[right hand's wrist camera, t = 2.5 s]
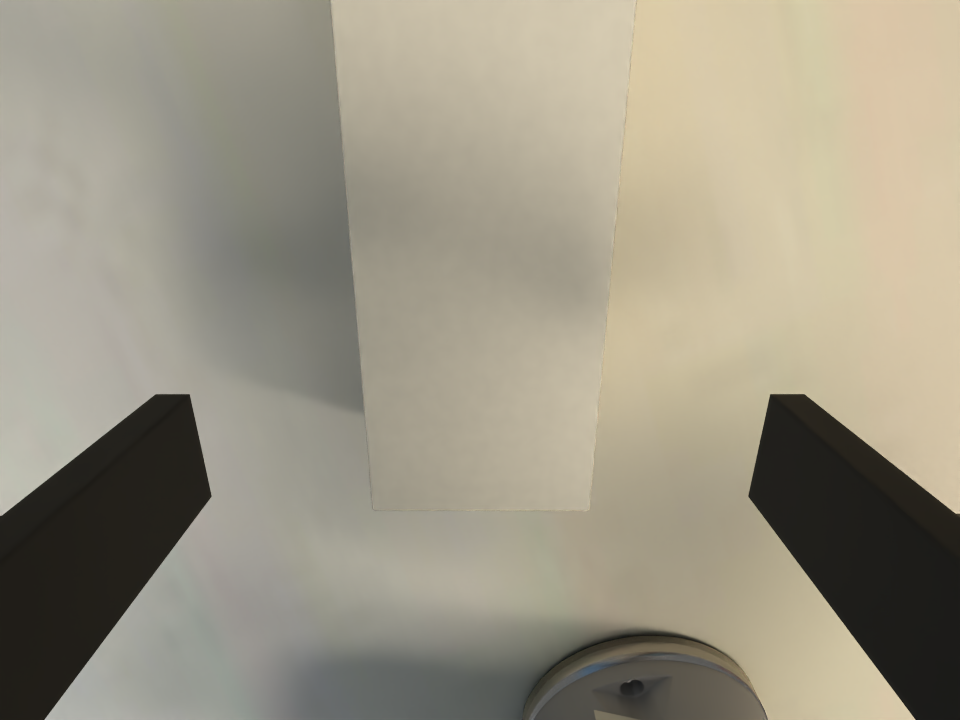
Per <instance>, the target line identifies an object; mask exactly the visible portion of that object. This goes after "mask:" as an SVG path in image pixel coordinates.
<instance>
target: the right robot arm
mask: <svg viewBox="0 0 960 720" xmlns="http://www.w3.org/2000/svg"><path fill="white" fill-rule="evenodd" d="M211 497H212V496H211V491H210V486H209V482H208V477H207V473H206V468H205V463H204V459H203V454H202V449H201V445H200V440H199V435H198V431H197V426H196V422H195V417H194V412H193V408H192V403H191V398H190V394H156V395H154V396H153V397H152V398H150V399H149V400H148V401H147V402H145V403H144V404H143V405H142V406H140V407H139V408H138V409H137V410H135V411H134V412H133V413H131V414H130V415H129V416H128V417H126V418H125V419H124V420H123V421H121V422H120V423H119V424H118V425H116V426H115V427H114V428H112V429H111V430H110V431H109V432H107V433H106V434H105V435H104V436H102V437H101V438H100V439H99V440H97V441H96V442H95V443H93V444H92V445H91V446H90V447H88V448H87V449H86V450H85V451H83V452H82V453H81V454H80V455H78V456H77V457H76V458H74V459H73V460H72V461H71V462H69V463H68V464H67V465H66V466H64V467H63V468H62V469H61V470H59V471H58V472H57V473H55V474H54V475H53V476H52V477H50V478H49V479H48V480H47V481H45V482H44V483H43V484H42V485H40V486H39V487H38V488H36V489H35V490H34V491H33V492H31V493H30V494H29V495H28V496H26V497H25V498H24V499H23V500H21V501H20V502H19V503H17V504H16V505H15V506H14V507H12V508H11V509H10V510H9V511H7V512H6V513H5V514H4V515H2V516H0V720H44V719H45V718H46V717H47V715H48V714H49V713H50V711H51V710H52V709H53V707H54V706H55V705H56V703H57V702H58V701H59V699H60V698H61V697H62V695H63V694H64V693H65V691H66V690H67V689H68V687H69V686H70V685H71V683H72V682H73V681H74V679H75V678H76V677H77V675H78V674H79V673H80V671H81V670H82V669H83V667H84V666H85V665H86V663H87V662H88V661H89V659H90V658H91V657H92V655H93V654H94V653H95V651H96V650H97V649H98V647H99V646H100V645H101V643H102V642H103V641H104V639H105V638H106V637H107V635H108V634H109V633H110V631H111V630H112V629H113V627H114V626H115V625H116V623H117V622H118V621H119V619H120V618H121V617H122V615H123V614H124V613H125V611H126V610H127V609H128V607H129V606H130V605H131V603H132V602H133V601H134V599H135V598H136V597H137V595H138V594H139V593H140V591H141V590H142V589H143V587H144V586H145V585H146V583H147V582H148V581H149V579H150V578H151V577H152V575H153V574H154V573H155V571H156V570H157V569H158V567H159V566H160V565H161V563H162V562H163V561H164V559H165V558H166V557H167V555H168V554H169V553H170V551H171V550H172V549H173V547H174V546H175V545H176V543H177V542H178V541H179V539H180V538H181V537H182V535H183V534H184V533H185V531H186V530H187V529H188V527H189V526H190V525H191V523H192V522H193V521H194V519H195V518H196V517H197V515H198V514H199V513H200V511H201V510H202V509H203V507H204V506H205V505H206V503H207V502H208V501H209V499H210V498H211ZM748 497H749V498H750V499H751V501H752V502H753V503H754V505H755V506H756V507H757V509H758V510H759V511H760V513H761V514H762V515H763V517H764V518H765V519H766V521H767V522H768V523H769V525H770V526H771V527H772V529H773V530H774V531H775V533H776V534H777V535H778V537H779V538H780V539H781V541H782V542H783V543H784V545H785V546H786V547H787V549H788V550H789V551H790V553H791V554H792V555H793V557H794V558H795V559H796V561H797V562H798V563H799V565H800V566H801V567H802V569H803V570H804V571H805V573H806V574H807V575H808V577H809V578H810V579H811V581H812V582H813V583H814V585H815V586H816V587H817V589H818V590H819V591H820V593H821V594H822V595H823V597H824V598H825V599H826V601H827V602H828V603H829V605H830V606H831V607H832V609H833V610H834V611H835V613H836V614H837V615H838V617H839V618H840V619H841V621H842V622H843V623H844V625H845V626H846V627H847V629H848V630H849V631H850V633H851V634H852V635H853V637H854V638H855V639H856V641H857V642H858V643H859V645H860V646H861V647H862V649H863V650H864V651H865V653H866V654H867V655H868V657H869V658H870V659H871V661H872V662H873V663H874V665H875V666H876V667H877V669H878V670H879V671H880V673H881V674H882V675H883V677H884V678H885V679H886V681H887V682H888V683H889V685H890V686H891V687H892V689H893V690H894V691H895V693H896V694H897V695H898V697H899V698H900V699H901V701H902V702H903V703H904V705H905V706H906V707H907V709H908V710H909V711H910V713H911V714H912V715H913V717H914V718H915V719H916V720H960V514H955V513H954V512H953V511H951V510H950V509H949V508H948V507H946V506H945V505H944V504H943V503H941V502H940V501H939V500H937V499H936V498H935V497H934V496H932V495H931V494H930V493H929V492H927V491H926V490H925V489H924V488H922V487H921V486H920V485H918V484H917V483H916V482H915V481H913V480H912V479H911V478H910V477H908V476H907V475H906V474H905V473H903V472H902V471H901V470H899V469H898V468H897V467H896V466H894V465H893V464H892V463H891V462H889V461H888V460H887V459H886V458H884V457H883V456H882V455H880V454H879V453H878V452H877V451H875V450H874V449H873V448H872V447H870V446H869V445H868V444H867V443H865V442H864V441H863V440H861V439H860V438H859V437H858V436H856V435H855V434H854V433H853V432H851V431H850V430H849V429H848V428H846V427H845V426H844V425H842V424H841V423H840V422H839V421H837V420H836V419H835V418H834V417H832V416H831V415H830V414H829V413H827V412H826V411H825V410H823V409H822V408H821V407H820V406H818V405H817V404H816V403H815V402H813V401H812V400H811V399H810V398H808V397H807V396H806V395H804V394H770V398H769V403H768V408H767V412H766V417H765V422H764V426H763V431H762V435H761V440H760V445H759V449H758V454H757V459H756V463H755V468H754V473H753V477H752V482H751V486H750V491H749V496H748ZM522 720H768V719H767V716H766V713H765V710H764V708H763V706H762V704H761V702H760V700H759V698H758V696H757V694H756V692H755V690H754V688H753V686H752V684H751V682H750V680H749V678H748V677H747V676H746V674H745V673H744V671H743V670H742V669H741V668H740V667H739V666H738V665H737V664H736V663H735V662H733V661H732V660H731V659H730V658H728V657H727V656H725V655H724V654H722V653H721V652H719V651H717V650H715V649H713V648H711V647H708V646H706V645H704V644H701V643H698V642H694V641H691V640H686V639H682V638H676V637H668V636H636V637H627V638H621V639H616V640H612V641H607V642H604V643H601V644H597V645H594V646H592V647H589V648H587V649H584V650H582V651H580V652H578V653H576V654H574V655H572V656H570V657H569V658H567V659H565V660H564V661H562V662H561V663H559V664H558V665H556V666H555V667H554V668H553V669H551V670H550V671H549V672H548V673H547V674H546V675H545V676H544V677H543V678H542V679H541V680H540V681H539V682H538V684H537V685H536V686H535V688H534V689H533V691H532V692H531V694H530V696H529V698H528V700H527V702H526V705H525V708H524V711H523V717H522Z"/></svg>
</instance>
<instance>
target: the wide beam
mask: <svg viewBox="0 0 960 720" xmlns="http://www.w3.org/2000/svg"><path fill="white" fill-rule="evenodd" d="M636 2H637V0H330V7H331V19H332V31H333V43H334V55H335V67H336V79H337V91H338V103H339V115H340V127H341V139H342V151H343V163H344V175H345V187H346V199H347V211H348V223H349V235H350V247H351V259H352V271H353V283H354V295H355V307H356V319H357V331H358V343H359V356H360V368H361V380H362V392H363V404H364V416H365V428H366V440H367V452H368V464H369V476H370V488H371V500H372V509H373V510H374V511H589V509H590V498H591V487H592V476H593V466H594V455H595V444H596V433H597V422H598V412H599V401H600V390H601V379H602V369H603V358H604V347H605V336H606V326H607V315H608V304H609V293H610V282H611V272H612V261H613V250H614V239H615V229H616V218H617V207H618V196H619V186H620V175H621V164H622V153H623V142H624V132H625V121H626V110H627V99H628V89H629V78H630V67H631V56H632V46H633V35H634V24H635V13H636Z"/></svg>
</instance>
